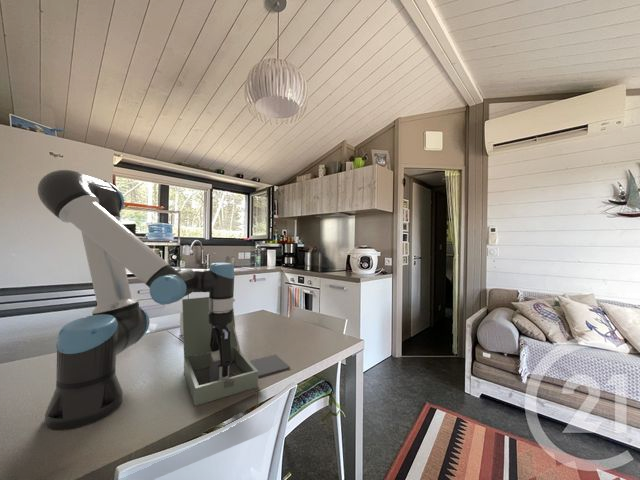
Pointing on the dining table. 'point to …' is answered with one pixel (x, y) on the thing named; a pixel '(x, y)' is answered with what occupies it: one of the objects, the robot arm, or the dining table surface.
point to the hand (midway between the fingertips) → (219, 377)
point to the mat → (269, 365)
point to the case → (200, 352)
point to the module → (214, 366)
